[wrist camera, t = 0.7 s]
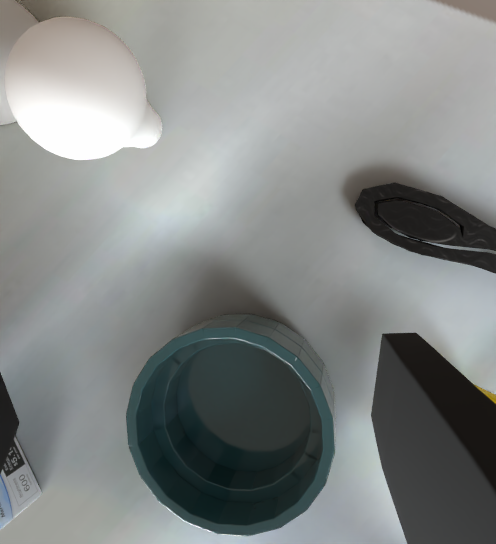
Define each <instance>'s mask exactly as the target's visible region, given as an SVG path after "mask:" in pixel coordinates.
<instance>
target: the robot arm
mask: <svg viewBox="0 0 496 544" xmlns="http://www.w3.org/2000/svg"><path fill="white" fill-rule="evenodd" d="M371 417H372V422H373V427H374V432H375V437H376V442H377V446H378V451H379V455H380V460H381V464H382V469H383V472H384V475H385V478H386V481H387V484H388V487H389V490H390V493H391V496H392V499H393V502H394V505H395V508H396V511H397V514H398V517H399V520H400V523H401V526H402V529H403V532H404V535H405V538H406V541H407V544H496V404H495V403H494V402H493V401H492V400H491V399H490V398H488V397H487V396H486V395H485V394H484V393H483V392H482V391H480V390H479V389H478V388H477V387H476V386H475V385H474V384H472V383H471V382H470V381H469V380H468V379H467V378H466V377H465V376H464V375H462V374H461V373H460V372H459V371H458V370H457V369H456V368H455V367H454V366H452V365H451V364H450V363H449V362H448V361H447V360H446V359H445V358H444V357H443V356H442V355H440V354H439V353H438V352H437V351H436V350H435V349H434V348H433V347H432V346H431V345H429V344H428V343H427V342H426V341H425V340H424V339H423V338H422V337H420V336H419V335H418V334H417V333H389V334H382V340H381V347H380V354H379V362H378V369H377V377H376V384H375V391H374V399H373V406H372V413H371ZM18 426H19V420H18V417H17V415H16V412H15V410H14V407H13V404H12V402H11V399H10V396H9V394H8V391H7V389H6V386H5V383H4V381H3V378H2V375H1V373H0V474H1V472H2V469H3V467H4V464H5V461H6V459H7V456H8V454H9V451H10V448H11V446H12V443H13V440H14V437H15V434H16V431H17V428H18Z"/></svg>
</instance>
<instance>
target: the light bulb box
mask: <svg viewBox="0 0 496 544" xmlns="http://www.w3.org/2000/svg"><path fill="white" fill-rule="evenodd" d="M41 495H42V491H41V489H40V487H39V485H38V483H37V481H36V479H35V477H34V475H33V472H32V470H31V468H30V466H29V464H28V462H27V460H26V458H25V456H24V453H23V451H22V449H21V447H20V445H19V443H18V441H17V439H16V437H14V440H13V443H12V446H11V448H10V451H9V454H8V456H7V459H6V461H5V464H4V467H3V469H2V472H1V474H0V530H1V529H2V528H3V527H4V526H5V525H7V524H8V523H9V522H10V521H11V520H13V519H14V518H15V517H16V516H17V515H18V514H20V513H21V512H22V511H23V510H24V509H26V508H27V507H28V506H29V505H30V504H31V503H33V502H34V501H35V500H36V499H38V498H39V497H40V496H41Z"/></svg>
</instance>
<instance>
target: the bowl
mask: <svg viewBox="0 0 496 544" xmlns="http://www.w3.org/2000/svg"><path fill="white" fill-rule="evenodd" d="M126 420H127V433H128V445H129V449H130V452H131V454H132V457H133V459H134V462H135V465H136V467H137V470H138V472H139V475H140V477H141V478H142V480H143V481H144V482H145V484H146V485H147V486H148V488H149V489H150V490H151V492H152V493H153V494H154V496H155V497H156V498H157V500H158V501H159V502H160V503H161V504H162V505H164V506H165V507H166V508H168V509H169V510H170V511H172V512H173V513H174V514H175V515H177V516H178V517H179V518H181V519H182V520H183V521H185V522H187V523H189V524H192V525H194V526H197V527H200V528H202V529H205V530H207V531H210V532H213V533H217V534H222V535H236V536H251V535H255V534H259V533H263V532H267V531H271V530H275V529H278V528H281V527H282V526H284V525H285V524H287V523H288V522H290V521H291V520H293V519H294V518H296V517H297V516H299V515H300V514H302V513H303V512H305V511H306V510H307V509H308V508H309V506H310V505H311V504H312V502H313V501H314V500H315V498H316V497H317V495H318V494H319V493H320V491H321V490H322V489H323V487H324V486H325V484H326V481H327V478H328V475H329V471H330V468H331V464H332V461H333V458H334V454H335V429H336V413H335V393H334V388H333V386H332V383H331V380H330V378H329V375H328V373H327V370H326V367H325V365H324V363H323V361H322V360H321V359H320V357H319V356H318V355H317V354H316V352H315V351H314V350H313V349H312V347H311V346H310V345H309V344H308V342H307V341H306V340H305V339H304V338H303V337H301V336H300V335H298V334H297V333H295V332H294V331H292V330H291V329H289V328H288V327H286V326H285V325H283V324H282V323H279V322H278V321H275V320H271V319H268V318H264V317H261V316H258V315H254V314H225V315H220V316H218V317H215V318H212V319H210V320H207V321H204V322H201V323H199V324H197V325H195V326H194V327H192V328H190V329H189V330H187V331H185V332H184V333H182V334H180V335H179V336H177V337H175V338H174V339H172V340H171V341H170V342H168V343H167V344H166V345H165V346H164V347H162V348H161V349H160V350H159V351H157V352H156V353H155V354H154V355H153V356H151V357H150V359H148V361H147V363H146V364H145V366H144V368H143V369H142V371H141V372H140V374H139V376H138V377H137V379H136V381H135V382H134V385H133V387H132V392H131V396H130V400H129V404H128V409H127V413H126Z"/></svg>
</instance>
